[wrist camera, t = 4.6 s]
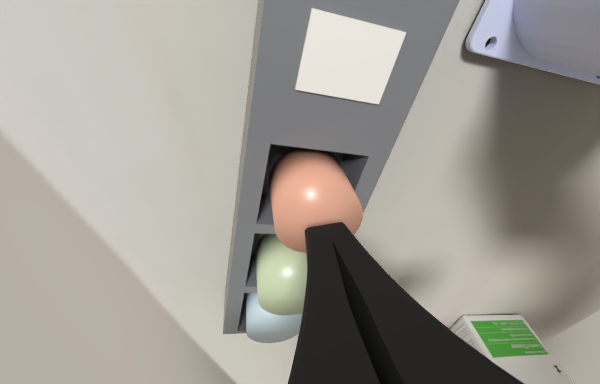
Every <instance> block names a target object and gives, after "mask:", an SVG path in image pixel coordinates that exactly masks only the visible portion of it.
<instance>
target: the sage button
mask: <svg viewBox="0 0 600 384" xmlns="http://www.w3.org/2000/svg"><path fill="white" fill-rule="evenodd" d="M255 254H256V275H257V296H258V303H259V305H260V307H261V308H262V309H264V310H265V311H267V312H269V313H272V314H276V315H296V314H301V313H303V307H304V299H305V291H306V282H307V255H306V253H303V252H298V251H294V250H292V249H290V248H288V247H286V246H285V245H284V244H282V243H281V242H280V240H279V239H278V237H277V235H276V234H265V235H264V236H262V237H261V238H260V240H259V241H258V243H257V245H256V249H255Z"/></svg>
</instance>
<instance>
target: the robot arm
mask: <svg viewBox="0 0 600 384" xmlns="http://www.w3.org/2000/svg"><path fill="white" fill-rule="evenodd" d="M489 38H491V41H490V43H489V44H488V46H487V47H485V44H486V42H487V40H488V39H489ZM466 48H467V50H469V51H470V52H473V53H476V54H480V55H484V56H488V57H492V58H496V59H500V60H504V61H508V62H512V63H516V64H520V65H524V66H528V67H532V68H536V69H539V70H543V71H547V72H551V73H555V74H559V75H563V76H567V77H571V78H575V79H579V80H583V81H587V82H591V83H595V84H599V85H600V0H485V2H484V4H483V6H482V8H481V10H480V13H479V15H478V17H477V19H476V21H475V23H474V25H473V27H472V29H471V31H470V33H469V35H468V37H467V40H466ZM305 242H306V255H307V282H306V291H305V299H304V307H303V314H302V320H301V326H300V331H299V336H298V342H297V347H296V351H295V356H294V360H293V365H292V369H291V373H290V377H289V381H288V384H524V383H523V382H521V381H520V380H518V379H517V378H515V377H514V376H512V375H511V374H510V373H508V372H507V371H505V370H504V369H502V368H501V367H499V366H498V365H496V364H495V363H494V362H492V361H491V360H490V359H488V358H487V357H485V356H484V355H483V354H481V353H480V352H479V351H477V350H476V349H475V348H473V347H472V346H471V345H469V344H468V343H467V342H465V341H464V340H463V339H461V338H460V337H458V336H457V335H456V334H455V333H453V332H452V331H451V330H450V329H448V328H447V327H446V326H445V325H443V324H442V323H441V322H440V321H438V320H437V319H436V318H435V317H434V316H433V315H431V314H430V313H429V312H428V311H427V310H425V309H424V308H423V307H422V306H421V305H420V304H419V303H418V302H416V301H415V300H414V299H413V298H412V297H411V296H410V295H409V294H408V293H407V292H406V291H405V290H404V289H402V288H401V287H400V286H399V285H398V284H397V283H396V282H395V281H394V280H393V279H392V278H391V277H390V276H389V275H388V274H387V273H386V272H385V271H384V269H383V268H382V267H381V266H380V265H379V264H378V263H377V262H376V261H375V260H374V259H373V258H372V257H371V255H370V254H369V253H368V252H367V251H366V250H365V249H364V247H363V246H362V245H361V244H360V243H359V241H358V240H357V239H356V238H355V236H354V235H353V234H352V233H351V231H350V230H349V229H348V227H347V226H346V225H345V224H344V223H343V222H338V223H332V224H326V225H320V226H313V227H308V228H307V229H305Z"/></svg>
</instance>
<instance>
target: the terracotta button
mask: <svg viewBox="0 0 600 384" xmlns="http://www.w3.org/2000/svg"><path fill="white" fill-rule="evenodd" d="M269 189H270V197H271V205H272V213H273V220H274V228H275V233H276V235H277V237H278V239H279V240H280V242H281V243H282V244H284V245H285V246H286V247H288V248H290V249H292V250H294V251H298V252H303V253H306V242H305V229H307V228H308V227H313V226H320V225H326V224H332V223H338V222H343V223H344V224H345V225H346V226H347V227H348V229H349V230H350V231H351V233H352V234H353V235H354V234H355V232H356V231H357V230H358V228H359V226H360V224H361V221H362V217H363V209H362V206H361V203H360V201H359V199H358V197H357V195H356V193H355V191H354V190H353V188H352V186H351V184H350V182H349V180H348V178H347V176H346V174H345V172H344V170H343V168H342V166H341V164H340V163H339V161H338V159H337V158H336V156H335V155H333V154H332V153H331V152H330V151H323V150H315V149H307V148H299V147H298V148H295V149H292V150H290V151H288V152H286V153H285V154H283V155H282V156H281V157H280V158H279V159H278V160H277V161H276V162H275V163H274V165H273V167H272V168H271V171H270V174H269Z"/></svg>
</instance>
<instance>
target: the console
mask: <svg viewBox="0 0 600 384" xmlns="http://www.w3.org/2000/svg"><path fill="white" fill-rule="evenodd" d="M458 3H459V0H258V9H257V17H256V26H255V35H254V44H253V53H252V61H251V70H250V79H249V88H248V97H247V105H246V114H245V123H244V132H243V141H242V149H241V158H240V167H239V176H238V185H237V193H236V202H235V211H234V220H233V229H232V237H231V246H230V255H229V264H228V273H227V281H226V290H225V305H224V324H223V334H235V333H246V293H257V275H256V254H255V249H256V245H257V243H258V241H259V240H260V238H261V237H262V236H264V235H265V234H276V233H275V228H274V220H273V213H272V205H271V197H270V189H269V174H270V171H271V168H272V167H273V165H274V163H275V162H276V161H277V160H278V159H279V158H280V157H281V156H282V155H283V154H285V153H286V152H288V151H290V150H292V149H295V148H298V147H299V148H307V149H315V150H323V151H330V152H331V153H332V154H333V155H335V156H336V158H337V159H338V161H339V163H340V164H341V166H342V168H343V170H344V172H345V174H346V176H347V178H348V180H349V182H350V184H351V186H352V188H353V190H354V191H355V193H356V195H357V197H358V199H359V201H360V203H361V206H362V209H363V212H364V210H365V208H366V206H367V204H368V201H369V199H370V197H371V195H372V193H373V190H374V188H375V186H376V184H377V181H378V179H379V177H380V175H381V173H382V170H383V168H384V166H385V164H386V162H387V159H388V157H389V155H390V153H391V151H392V148H393V146H394V144H395V142H396V140H397V137H398V135H399V133H400V131H401V128H402V126H403V124H404V122H405V120H406V117H407V115H408V113H409V111H410V109H411V106H412V104H413V102H414V100H415V98H416V95H417V93H418V91H419V89H420V86H421V84H422V82H423V80H424V78H425V75H426V73H427V71H428V69H429V67H430V64H431V62H432V60H433V58H434V56H435V53H436V51H437V49H438V47H439V45H440V42H441V40H442V38H443V36H444V33H445V31H446V29H447V27H448V25H449V22H450V20H451V18H452V16H453V14H454V11H455V9H456V7H457V5H458ZM302 314H303V313H302Z"/></svg>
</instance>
